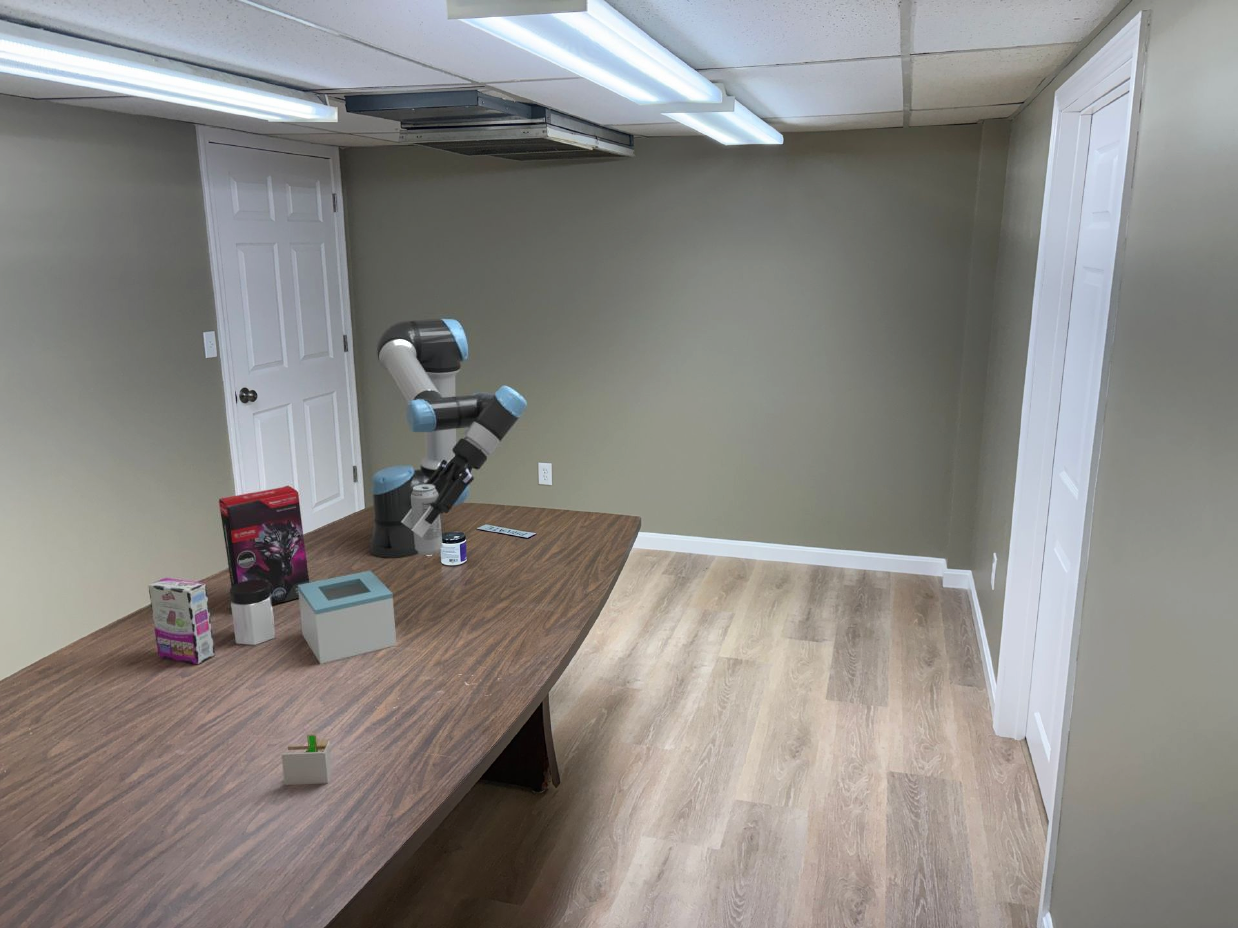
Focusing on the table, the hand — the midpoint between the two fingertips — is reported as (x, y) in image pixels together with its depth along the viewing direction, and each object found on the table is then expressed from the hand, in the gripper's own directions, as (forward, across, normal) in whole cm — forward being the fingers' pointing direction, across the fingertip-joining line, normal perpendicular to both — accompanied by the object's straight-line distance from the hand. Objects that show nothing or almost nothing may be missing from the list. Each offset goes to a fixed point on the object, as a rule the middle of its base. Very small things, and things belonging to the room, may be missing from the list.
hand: (411, 529), depth 192 cm
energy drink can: (+2, 0, -7) cm, 7 cm away
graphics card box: (+34, +33, +2) cm, 48 cm away
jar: (+39, +14, +7) cm, 42 cm away
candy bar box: (+49, +13, +17) cm, 53 cm away
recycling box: (+27, +1, -5) cm, 28 cm away
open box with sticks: (+42, -46, +9) cm, 63 cm away
